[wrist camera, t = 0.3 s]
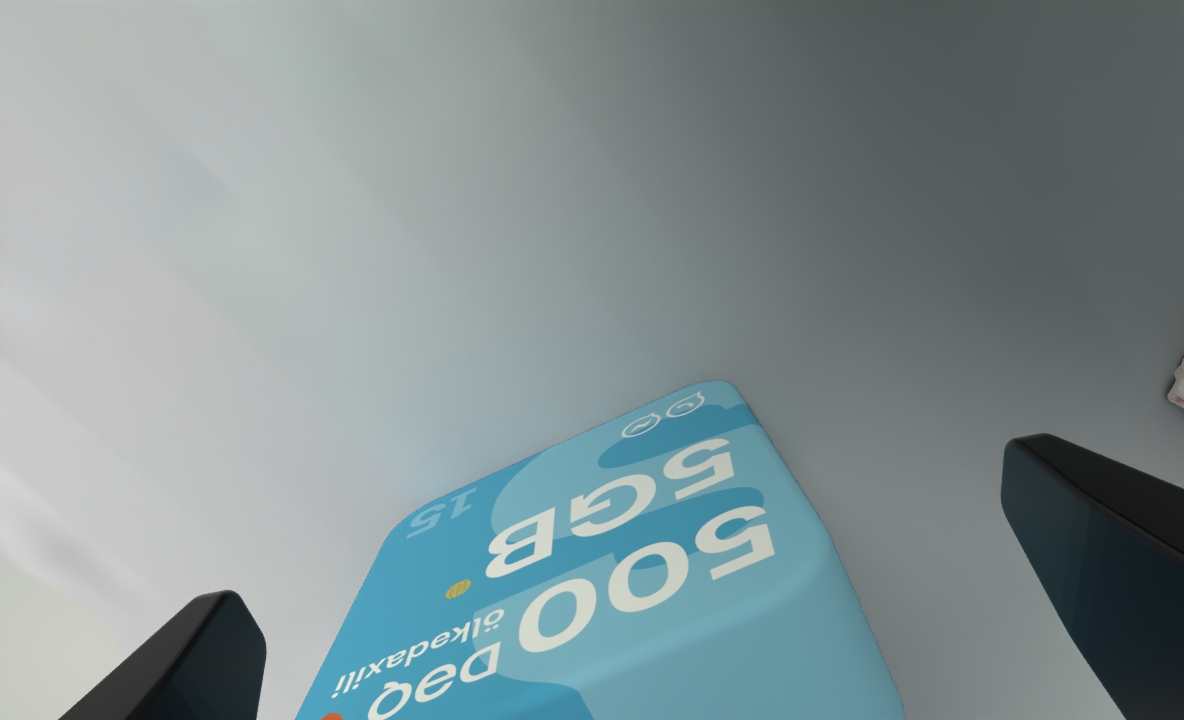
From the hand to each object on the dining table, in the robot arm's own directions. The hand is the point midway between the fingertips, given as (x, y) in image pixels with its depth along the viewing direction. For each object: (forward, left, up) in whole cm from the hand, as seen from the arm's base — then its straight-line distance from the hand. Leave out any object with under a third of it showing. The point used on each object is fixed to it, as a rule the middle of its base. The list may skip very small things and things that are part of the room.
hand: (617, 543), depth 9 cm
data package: (-6, -3, -16) cm, 17 cm away
